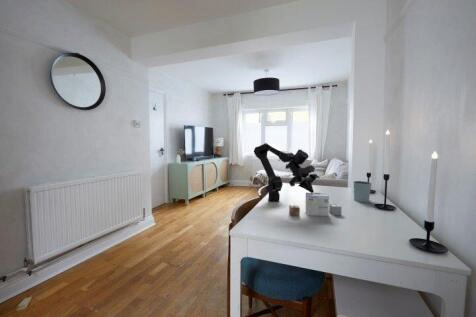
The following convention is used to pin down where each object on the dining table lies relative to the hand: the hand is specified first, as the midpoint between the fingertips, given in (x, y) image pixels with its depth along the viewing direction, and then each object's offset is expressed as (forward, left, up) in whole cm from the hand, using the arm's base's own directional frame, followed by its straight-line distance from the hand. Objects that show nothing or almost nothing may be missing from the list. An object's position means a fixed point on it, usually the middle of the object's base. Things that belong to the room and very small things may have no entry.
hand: (312, 192), depth 115 cm
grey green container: (+39, +26, -11) cm, 48 cm away
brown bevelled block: (-10, -4, -11) cm, 16 cm away
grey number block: (+12, -1, -11) cm, 16 cm away
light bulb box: (+2, -2, -11) cm, 12 cm away
